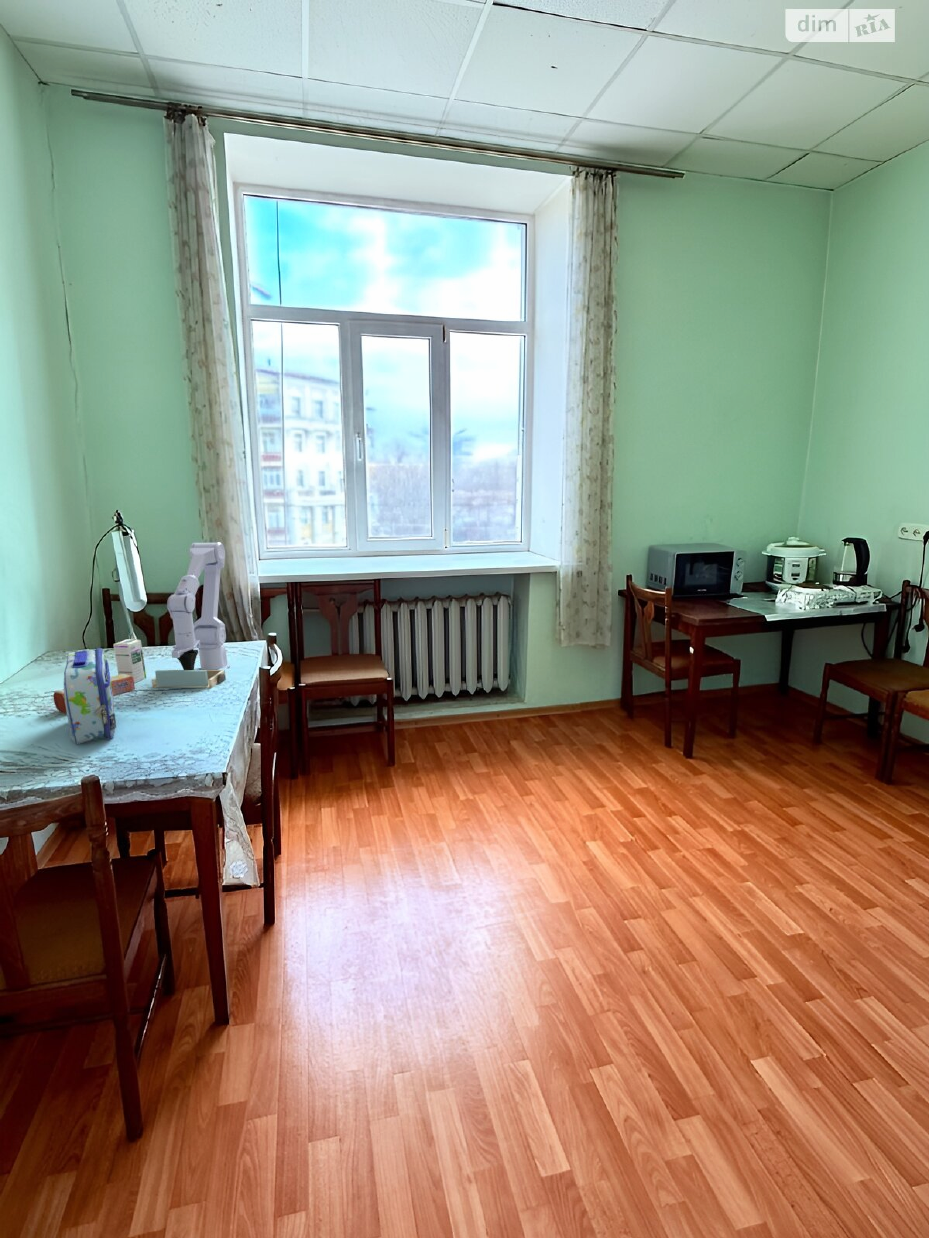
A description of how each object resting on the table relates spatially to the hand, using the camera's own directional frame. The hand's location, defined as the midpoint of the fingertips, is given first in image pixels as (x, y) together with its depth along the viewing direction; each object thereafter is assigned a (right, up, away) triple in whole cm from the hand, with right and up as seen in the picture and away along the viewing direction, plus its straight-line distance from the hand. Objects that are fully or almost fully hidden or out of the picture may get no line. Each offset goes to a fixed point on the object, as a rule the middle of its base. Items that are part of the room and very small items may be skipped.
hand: (189, 673), depth 205 cm
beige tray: (0, -4, +1) cm, 4 cm away
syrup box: (-20, -4, +4) cm, 21 cm away
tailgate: (0, -4, -5) cm, 6 cm away
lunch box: (-11, -13, -33) cm, 37 cm away
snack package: (-23, -8, -11) cm, 27 cm away
